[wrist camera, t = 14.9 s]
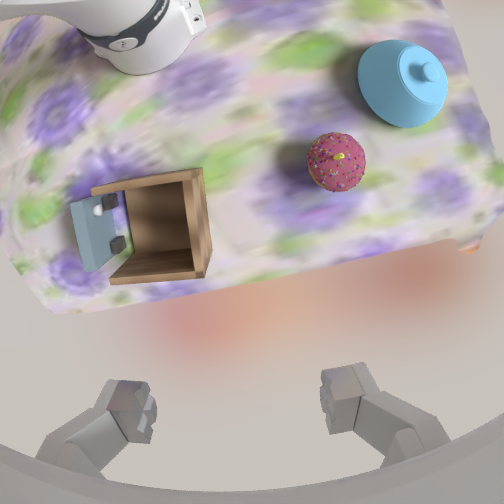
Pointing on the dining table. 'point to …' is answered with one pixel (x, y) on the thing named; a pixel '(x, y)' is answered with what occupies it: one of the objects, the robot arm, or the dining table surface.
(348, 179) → the cupcake
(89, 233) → the door
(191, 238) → the cabinet
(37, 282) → the dining table surface
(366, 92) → the sugar bowl
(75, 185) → the dining table surface
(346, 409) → the robot arm
